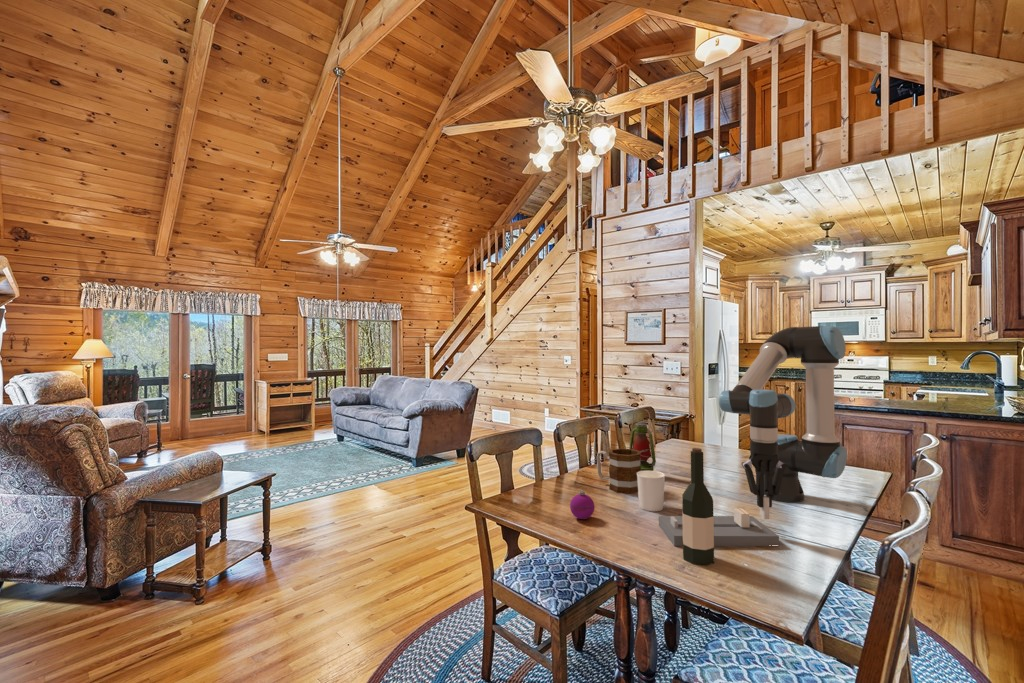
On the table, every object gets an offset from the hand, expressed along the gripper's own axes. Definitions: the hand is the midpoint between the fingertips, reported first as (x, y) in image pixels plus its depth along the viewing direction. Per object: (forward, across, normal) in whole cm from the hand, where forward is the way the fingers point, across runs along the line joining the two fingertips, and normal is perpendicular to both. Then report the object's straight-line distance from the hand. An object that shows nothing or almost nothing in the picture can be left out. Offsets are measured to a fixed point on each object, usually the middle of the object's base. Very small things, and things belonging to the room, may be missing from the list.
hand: (764, 517), depth 145 cm
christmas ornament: (+6, +54, -14) cm, 56 cm away
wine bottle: (+6, +26, +16) cm, 31 cm away
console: (+6, +15, 0) cm, 16 cm away
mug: (+6, +35, -49) cm, 60 cm away
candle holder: (+6, +28, -25) cm, 38 cm away
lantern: (+6, +21, -67) cm, 70 cm away
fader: (+2, +7, 0) cm, 7 cm away
